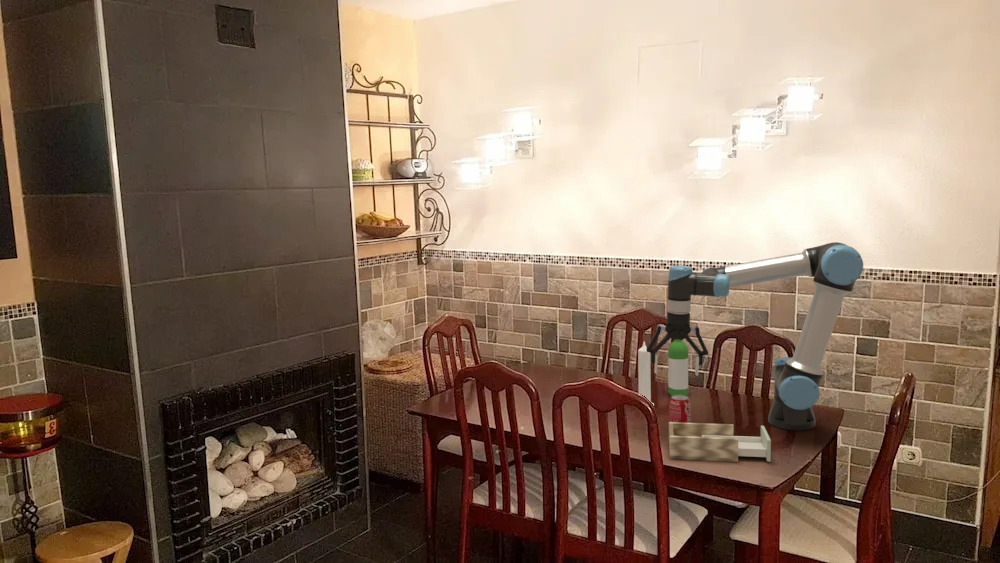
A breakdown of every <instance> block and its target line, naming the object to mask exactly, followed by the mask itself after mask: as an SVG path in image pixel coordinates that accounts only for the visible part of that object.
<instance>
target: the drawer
mask: <svg viewBox="0 0 1000 563" xmlns="http://www.w3.org/2000/svg"><path fill="white" fill-rule="evenodd" d="M702 437H719V438H738V457H754V458H755V457H756V458H765V460H766V462H767V463H768V462H769V463H770V462H771V460H772V459H771V456H772V455H771V454H772V452H771V451H772V450H771V449H772V440H771V438H770V435H769V434H768V431H767V430H766V427H765V425H760V436H748V435H747V436H746V435H745V436H744V435H733V436H723V435H702Z"/></svg>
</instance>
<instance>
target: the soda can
mask: <svg viewBox="0 0 1000 563" xmlns="http://www.w3.org/2000/svg"><path fill="white" fill-rule="evenodd" d="M670 396H671V395H670ZM691 407H692V405H691V401H690V399H689V396H688V395H687V396H686V395H673V396H671V397H670V400H669V407H668V408H669V410H668V416H669V418H668V419H669V420H668V421H669V422H681V423H692V422H691V421H692V420H691V419H692V414H691V413H692V412H691V411H692V408H691ZM669 422H668V423H669Z"/></svg>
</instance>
